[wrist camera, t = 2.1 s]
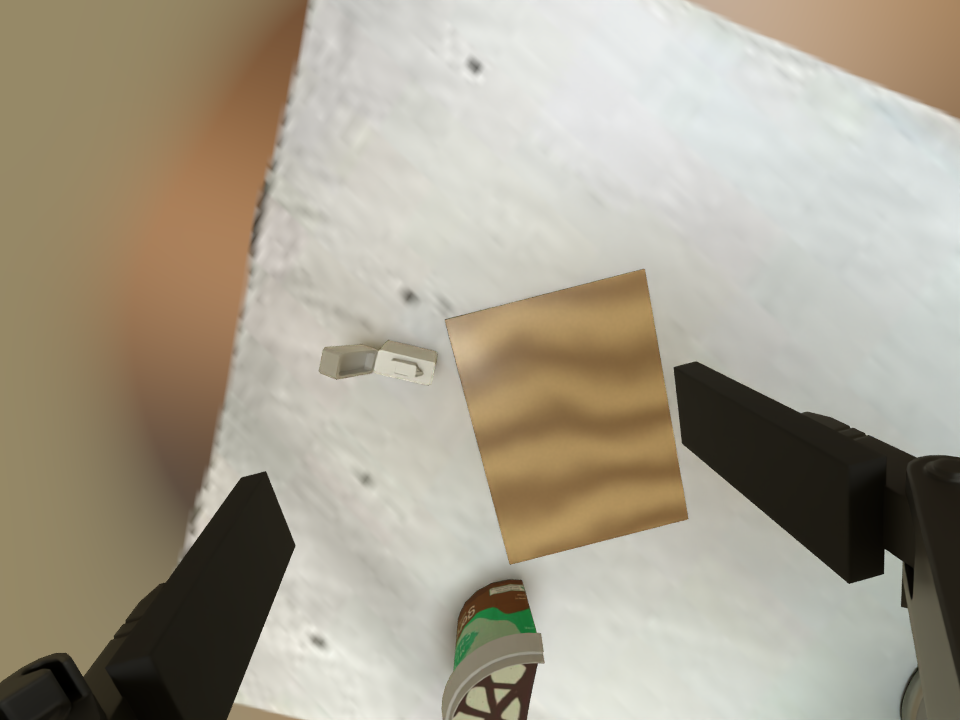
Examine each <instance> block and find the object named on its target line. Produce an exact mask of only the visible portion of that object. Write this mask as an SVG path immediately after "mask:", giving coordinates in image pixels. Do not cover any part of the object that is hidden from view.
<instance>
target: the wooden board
mask: <svg viewBox="0 0 960 720" xmlns="http://www.w3.org/2000/svg"><path fill="white" fill-rule="evenodd" d="M445 323H446V327H447V330H448V334H449V338H450V342H451V345H452V349H453V353H454V357H455V360H456V364H457V368H458V372H459V375H460V379H461V383H462V387H463V390H464V394H465V398H466V402H467V406H468V409H469V413H470V417H471V421H472V424H473V428H474V432H475V436H476V439H477V443H478V447H479V451H480V454H481V458H482V462H483V466H484V469H485V473H486V477H487V481H488V485H489V488H490V492H491V496H492V500H493V503H494V507H495V511H496V515H497V518H498V522H499V526H500V530H501V533H502V537H503V541H504V545H505V548H506V552H507V556H508V560H509V564H510V565H511V564H515V563H519V562H522V561H526V560H530V559H534V558H538V557H542V556H546V555H550V554H554V553H558V552H562V551H566V550H569V549H573V548H577V547H581V546H585V545H589V544H593V543H597V542H601V541H605V540H609V539H613V538H616V537H620V536H624V535H628V534H632V533H636V532H640V531H644V530H648V529H652V528H656V527H660V526H663V525H667V524H671V523H675V522H679V521H683V520H687V519H688V514H687V508H686V503H685V497H684V491H683V486H682V480H681V474H680V468H679V463H678V457H677V451H676V445H675V440H674V434H673V428H672V422H671V417H670V411H669V405H668V399H667V394H666V388H665V382H664V377H663V371H662V365H661V359H660V354H659V348H658V342H657V336H656V331H655V325H654V319H653V313H652V308H651V302H650V296H649V291H648V285H647V279H646V273H645V269H642V270H638V271H634V272H630V273H626V274H622V275H618V276H614V277H610V278H606V279H602V280H598V281H594V282H591V283H587V284H583V285H579V286H575V287H571V288H567V289H563V290H559V291H555V292H551V293H547V294H543V295H540V296H536V297H532V298H528V299H524V300H520V301H516V302H512V303H508V304H504V305H500V306H496V307H492V308H489V309H485V310H481V311H477V312H473V313H469V314H465V315H461V316H457V317H453V318H449V319H445Z"/></svg>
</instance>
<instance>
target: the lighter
mask: <svg viewBox="0 0 960 720" xmlns="http://www.w3.org/2000/svg"><path fill="white" fill-rule="evenodd" d="M437 355H438V354H437V352H436V351H432V350H428V349H424V348H420V347H416V346H411V345H407V344H403V343H399V342H394V341H390V340H388V341H387V342H386V343H385V344H384V345H383V346H382V347H381V348H380V350H379V351H377V349H374V348H371V347H368V346H365V345H362V344H358V345H345V346H333V347H325V348H324V349H323V352H322V357H321V362H320V367H319V372H320V373H321V374H324V375H326V376H329V377H331V378H334V379H336V380H337V379H343V378H348V377H354V376H359V375H365V374H371V373H372V372H373V371H374V372H375V374H380V375H384V376H388V377H393V378H397V379H402V380H406V381H410V382H415V383H419V384H423V385H430V384H431V383H432V378H433V374H434V370H435V366H436V361H437Z"/></svg>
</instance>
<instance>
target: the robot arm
mask: <svg viewBox="0 0 960 720" xmlns="http://www.w3.org/2000/svg"><path fill="white" fill-rule="evenodd" d="M674 376H675V385H676V393H677V402H678V411H679V420H680V429H681V438H682V444H683V445H684V446H686V447H687V448H688V449H689V450H690V451H692V452H693V453H694V454H695V455H696V456H698V457H699V458H700V459H701V460H702V461H703V462H705V463H706V464H707V465H708V466H709V467H711V468H712V469H713V470H714V471H715V472H717V473H718V474H719V475H720V476H721V477H723V478H724V479H725V480H726V481H727V482H728V483H730V484H731V485H732V486H733V487H734V488H736V489H737V490H738V491H739V492H740V493H742V494H743V495H744V496H745V497H746V498H747V499H749V500H750V501H751V502H752V503H753V504H755V505H756V506H757V507H758V508H759V509H761V510H762V511H763V512H764V513H765V514H767V515H768V516H769V517H770V518H771V519H772V520H774V521H775V522H776V523H777V524H778V525H780V526H781V527H782V528H783V529H784V530H786V531H787V532H788V533H789V534H790V535H792V536H793V537H794V538H795V539H796V540H797V541H799V542H800V543H801V544H802V545H803V546H805V547H806V548H807V549H808V550H809V551H811V552H812V553H813V554H814V555H815V556H817V557H818V558H819V559H820V560H821V561H822V562H824V563H825V564H826V565H827V566H828V567H830V568H831V569H832V570H833V571H834V572H836V573H837V574H838V575H839V576H840V577H841V578H843V579H844V580H845V581H846V582H847V583H849V584H850V583H854V582H857V581H861V580H864V579H868V578H872V577H875V576H879V575H882V574H884V550H885V549H886V550H887V551H889V552H890V553H892V554H893V555H895V556H896V557H897V558H899V559H900V560H902V561H903V570H902V596H901V607H904V608H908V612H909V617H910V623H911V628H912V634H913V640H914V645H915V651H916V657H917V662H918V668H919V670H918V671H917V672H916V674H915V675H914V677H913V678H912V680H911V682H910V683H909V685H908V688H907V690H906V693H905V696H904V699H903V704H902V720H960V457H953V456H946V455H929V456H923V457H918V458H916V457H914V456H912V455H910V454H908V453H906V452H904V451H902V450H899V449H897V448H895V447H893V446H891V445H889V444H887V443H885V442H882V441H880V440H878V439H876V438H874V437H872V436H870V435H867V436H866V435H865V433H863V432H861V431H859V430H857V429H855V428H850V426H848V425H846V424H844V423H842V422H840V421H838V420H836V419H834V418H831V417H828V416H823V415H819V414H815V413H811V412H804V413H799V412H797V411H795V410H793V409H791V408H789V407H787V406H785V405H783V404H781V403H779V402H777V401H775V400H773V399H771V398H769V397H767V396H765V395H763V394H761V393H759V392H757V391H755V390H753V389H751V388H749V387H747V386H745V385H743V384H741V383H739V382H737V381H735V380H733V379H731V378H729V377H727V376H725V375H723V374H721V373H719V372H717V371H715V370H713V369H711V368H709V367H707V366H705V365H703V364H701V363H699V362H697V361H696V362H692V363H688V364H684V365H680V366H676V367H674ZM294 548H295V543H294V541H293V538H292V535H291V533H290V530H289V528H288V525H287V523H286V520H285V518H284V515H283V513H282V510H281V508H280V505H279V503H278V500H277V498H276V495H275V493H274V490H273V488H272V485H271V483H270V480H269V478H268V475H267V473H266V471H265V472H261V473H257V474H254V475H250V476H246V477H242V478H241V479H240V480H239V481H238V483H237V484H236V486H235V487H234V488H233V490H232V491H231V492H230V494H229V495H228V497H227V498H226V499H225V501H224V502H223V504H222V505H221V506H220V508H219V509H218V511H217V512H216V513H215V515H214V516H213V518H212V519H211V520H210V522H209V523H208V525H207V526H206V527H205V529H204V530H203V532H202V533H201V534H200V536H199V537H198V539H197V540H196V541H195V543H194V544H193V546H192V547H191V548H190V550H189V551H188V553H187V554H186V555H185V557H184V558H183V559H182V561H181V562H180V564H179V565H178V566H177V568H176V569H175V571H174V572H173V573H172V575H171V576H170V578H169V579H168V580H167V582H166V583H162V584H159V585H158V586H157V587H156V588H155V589H154V590H153V591H151V592H150V593H149V594H148V595H147V596H146V597H145V598H144V599H142V600H141V601H140V602H139V603H138V605H137V606H136V607H135V609H134V610H133V611H132V613H131V614H130V615H129V617H128V618H127V619H126V623H125V624H123V625H122V626H121V627H120V629H119V630H118V631H117V633H116V634H115V635H114V639H113V640H111V641H110V642H109V643H108V645H107V646H106V647H105V649H104V650H103V651H102V653H101V654H100V655H99V657H98V658H97V659H96V661H95V662H94V663H93V665H92V666H91V668H90V669H89V670H88V671H87V673H86V674H85V675H84V677H83V676H82V674H81V673H80V671H79V670H78V668H77V666H76V664H75V663H74V661H73V660H72V658H71V657H70V656H69V655H68V654H67V653H55V654H51V655H48V656H46V657H43V658H40V659H38V660H36V661H34V662H32V663H30V664H28V665H26V666H24V667H22V668H21V669H19V670H18V671H16V672H15V673H13V674H12V675H11V676H9V677H7V678H6V679H5V680H3V681H2V682H1V683H0V720H227V718H228V715H229V713H230V710H231V708H232V705H233V703H234V700H235V697H236V695H237V692H238V690H239V687H240V685H241V682H242V680H243V677H244V675H245V672H246V670H247V667H248V665H249V662H250V659H251V657H252V654H253V652H254V649H255V647H256V644H257V642H258V639H259V637H260V634H261V632H262V629H263V627H264V624H265V621H266V619H267V616H268V614H269V611H270V609H271V606H272V604H273V601H274V599H275V596H276V594H277V591H278V589H279V586H280V584H281V581H282V578H283V576H284V573H285V571H286V568H287V566H288V563H289V561H290V558H291V556H292V553H293V551H294Z"/></svg>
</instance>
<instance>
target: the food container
mask: <svg viewBox="0 0 960 720" xmlns="http://www.w3.org/2000/svg"><path fill="white" fill-rule="evenodd" d="M543 652H544V651H543V644H542V637H541V633H537V632H536V628H535V625H534V621H533V618H532V614H531V610H530V607H529V603H528V600H527V596H526V592H525V589H524V585H523V582H522V580H505V581H500V582H495V583H491V584H489V585H488V586H486V587H484V588H482V589H480V590H478V591H476V592H475V593H474V594H473V595H472V596H471V597H470V598H469V599H468V600H467V601H466V602H465V604H464V606H463V608H462V610H461V612H460V615H459V618H458V626H457V637H456V649H455V660H454V671H453V673H452V674H451V676H450V678H449V680H448V682H447V684H446V686H445V690H444V694H443V697H442V717H443V720H527V715H528V709H529V703H530V698H531V693H532V688H533V683H534V679H535V674H536V669H537V665H538V663H542V664H544V663H545V662H544V657H543Z"/></svg>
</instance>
